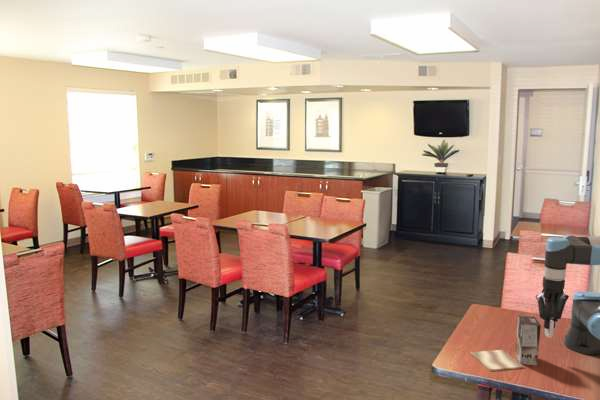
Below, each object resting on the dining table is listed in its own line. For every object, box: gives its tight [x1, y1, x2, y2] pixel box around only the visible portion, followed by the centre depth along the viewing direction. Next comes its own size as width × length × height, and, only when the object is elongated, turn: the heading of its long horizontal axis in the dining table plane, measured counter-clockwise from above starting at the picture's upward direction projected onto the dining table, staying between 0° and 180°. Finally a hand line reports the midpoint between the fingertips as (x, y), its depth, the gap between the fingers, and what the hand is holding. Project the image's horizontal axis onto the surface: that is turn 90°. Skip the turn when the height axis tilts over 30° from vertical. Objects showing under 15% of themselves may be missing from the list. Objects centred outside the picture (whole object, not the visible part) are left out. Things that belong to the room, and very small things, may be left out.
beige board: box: [470, 349, 525, 372], centre depth 194 cm, size 14×14×1 cm
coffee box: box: [514, 315, 542, 366], centre depth 194 cm, size 9×6×16 cm
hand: (548, 336), depth 196 cm, fingers closed
